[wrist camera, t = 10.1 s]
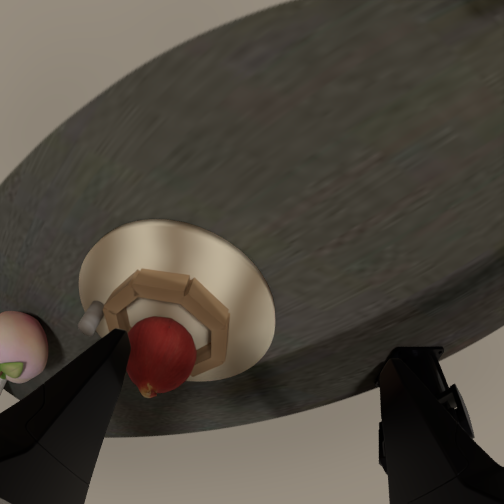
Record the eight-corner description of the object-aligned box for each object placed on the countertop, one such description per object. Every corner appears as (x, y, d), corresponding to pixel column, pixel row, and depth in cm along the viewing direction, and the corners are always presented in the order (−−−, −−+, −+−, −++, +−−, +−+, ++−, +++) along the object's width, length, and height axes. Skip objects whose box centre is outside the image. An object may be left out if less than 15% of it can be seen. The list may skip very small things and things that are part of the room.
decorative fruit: (23, 279, 26) (-28, 340, 18) (72, 330, 29) (33, 397, 21) (4, 308, 29) (-35, 359, 21) (45, 350, 33) (14, 405, 24)
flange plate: (292, 233, 22) (295, 266, 18) (261, 382, 31) (259, 414, 27) (68, 210, 22) (39, 234, 18) (105, 354, 31) (92, 382, 27)
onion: (180, 352, 27) (161, 424, 20) (129, 320, 26) (96, 390, 19) (216, 322, 25) (200, 403, 18) (158, 283, 23) (123, 361, 16)
